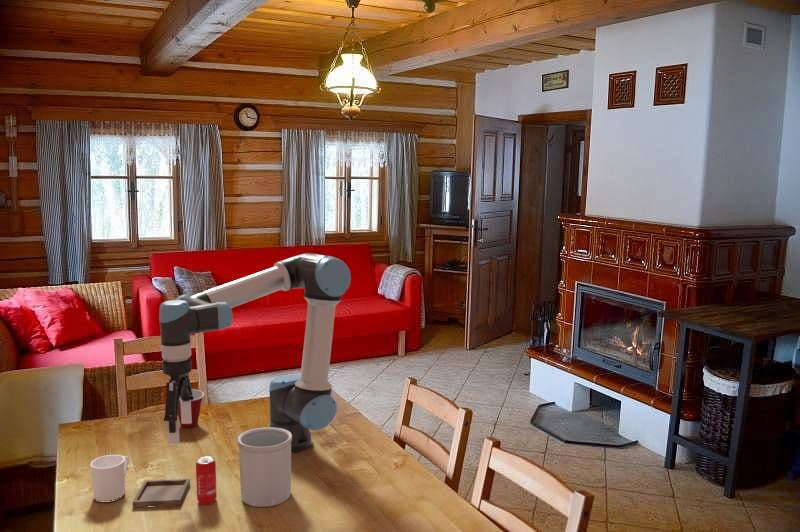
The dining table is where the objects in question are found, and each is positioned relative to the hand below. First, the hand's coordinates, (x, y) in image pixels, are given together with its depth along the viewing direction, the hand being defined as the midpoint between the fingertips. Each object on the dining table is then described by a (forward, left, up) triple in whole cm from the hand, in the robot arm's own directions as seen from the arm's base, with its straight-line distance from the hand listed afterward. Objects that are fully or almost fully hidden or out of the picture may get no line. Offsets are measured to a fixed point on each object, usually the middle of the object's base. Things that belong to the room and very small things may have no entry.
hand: (180, 432), depth 187 cm
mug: (+20, -4, -20) cm, 29 cm away
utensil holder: (-23, 0, -20) cm, 30 cm away
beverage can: (-7, +2, -20) cm, 21 cm away
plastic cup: (+9, -54, -20) cm, 58 cm away
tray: (+6, -2, -19) cm, 20 cm away
